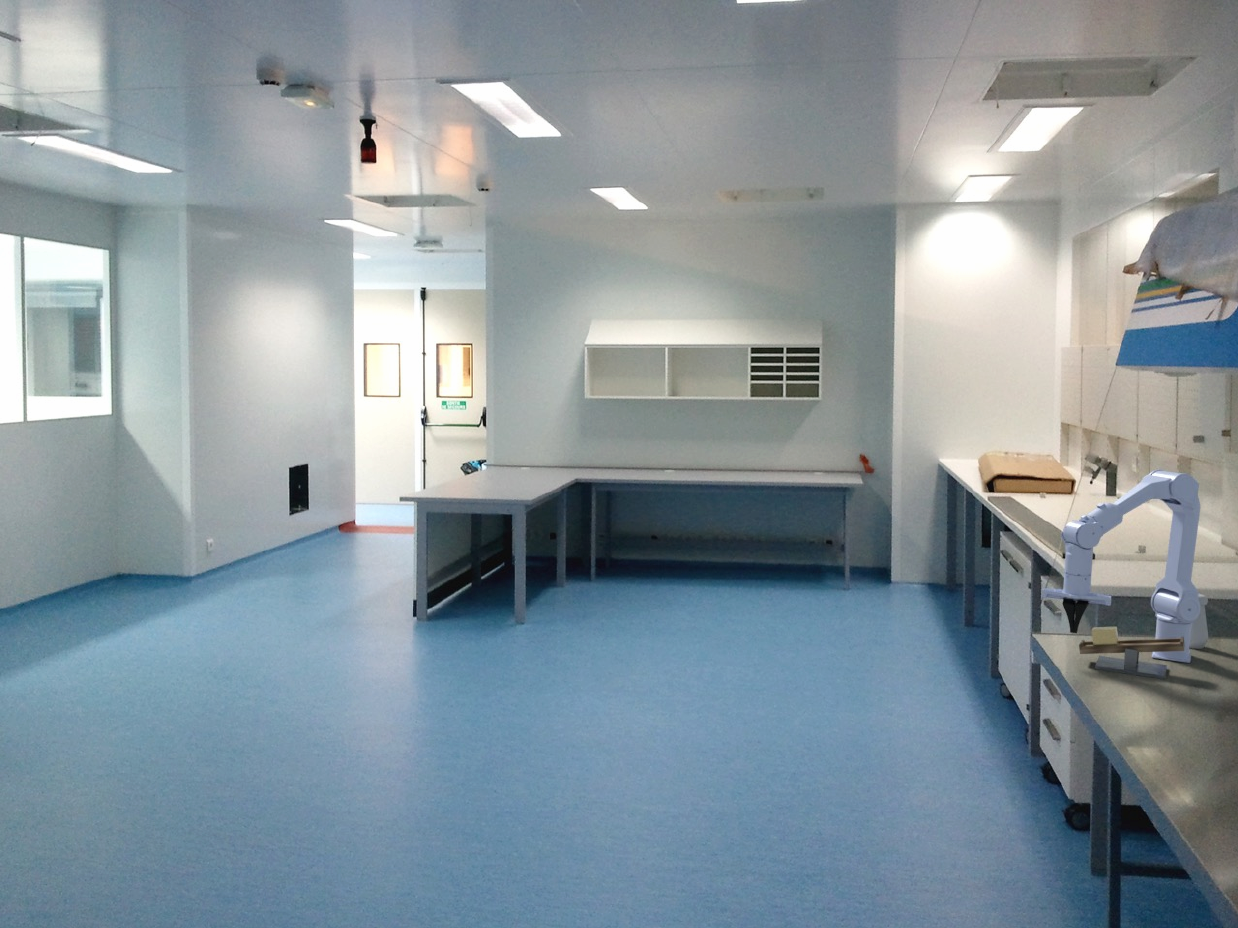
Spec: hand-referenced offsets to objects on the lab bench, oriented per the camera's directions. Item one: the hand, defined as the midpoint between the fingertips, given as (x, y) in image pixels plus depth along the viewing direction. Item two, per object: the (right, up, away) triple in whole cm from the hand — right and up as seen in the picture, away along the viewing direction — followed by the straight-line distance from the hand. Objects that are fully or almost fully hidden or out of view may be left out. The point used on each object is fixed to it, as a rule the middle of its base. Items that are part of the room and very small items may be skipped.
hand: (1073, 632), depth 247 cm
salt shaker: (+37, -6, +17) cm, 41 cm away
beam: (+11, -3, -6) cm, 13 cm away
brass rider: (+6, -3, -3) cm, 7 cm away
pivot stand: (+11, -7, -5) cm, 14 cm away
